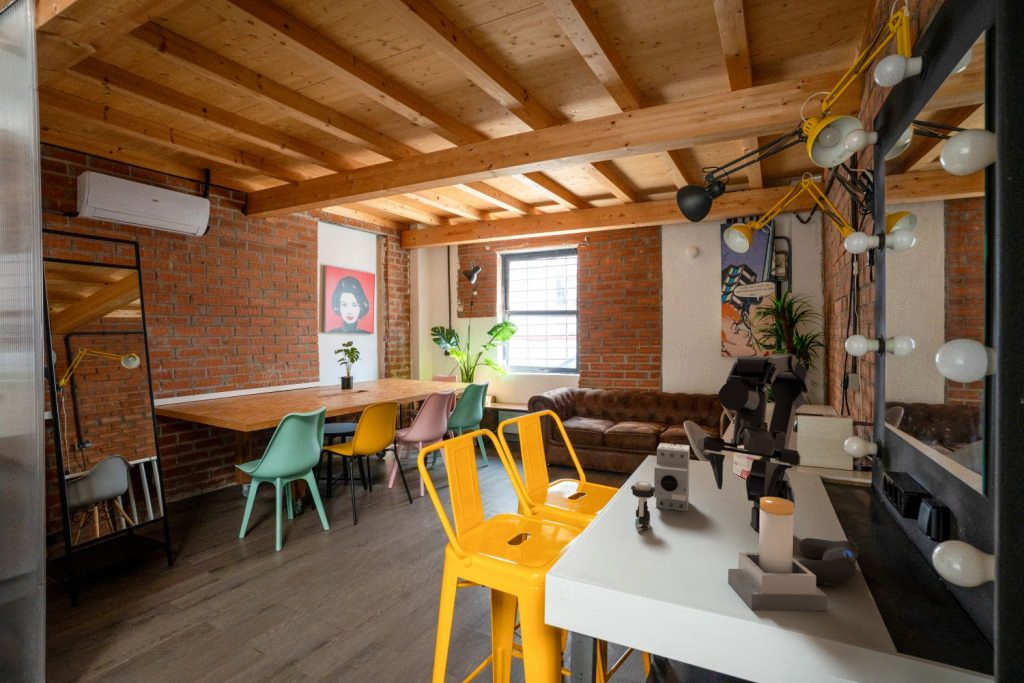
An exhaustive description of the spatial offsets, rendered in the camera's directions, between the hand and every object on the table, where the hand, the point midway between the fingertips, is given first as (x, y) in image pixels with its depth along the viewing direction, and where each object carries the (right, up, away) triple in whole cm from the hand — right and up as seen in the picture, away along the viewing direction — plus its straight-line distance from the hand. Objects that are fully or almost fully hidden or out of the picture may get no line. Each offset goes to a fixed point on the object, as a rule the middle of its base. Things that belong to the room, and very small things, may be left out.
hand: (743, 493), depth 104 cm
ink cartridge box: (+27, -12, +57) cm, 65 cm away
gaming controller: (+11, -13, -8) cm, 19 cm away
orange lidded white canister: (-2, -10, -17) cm, 20 cm away
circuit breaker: (-6, -12, +27) cm, 30 cm away
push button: (-17, -12, +13) cm, 24 cm away
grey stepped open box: (-2, -12, -17) cm, 21 cm away
